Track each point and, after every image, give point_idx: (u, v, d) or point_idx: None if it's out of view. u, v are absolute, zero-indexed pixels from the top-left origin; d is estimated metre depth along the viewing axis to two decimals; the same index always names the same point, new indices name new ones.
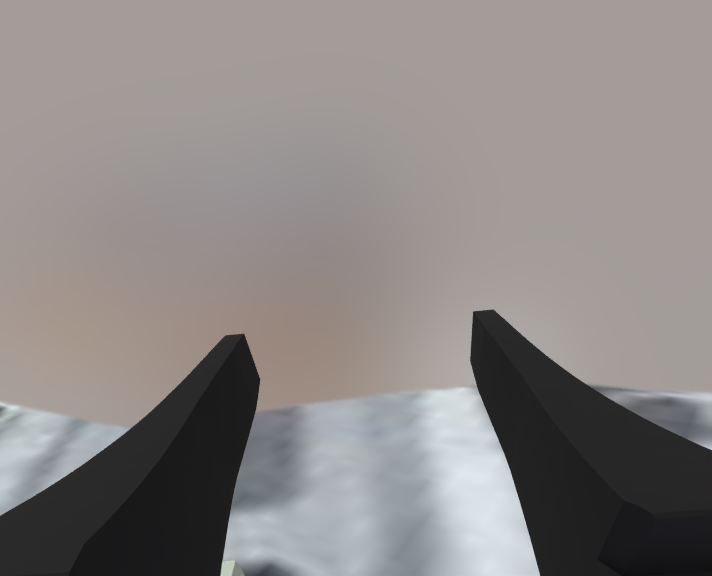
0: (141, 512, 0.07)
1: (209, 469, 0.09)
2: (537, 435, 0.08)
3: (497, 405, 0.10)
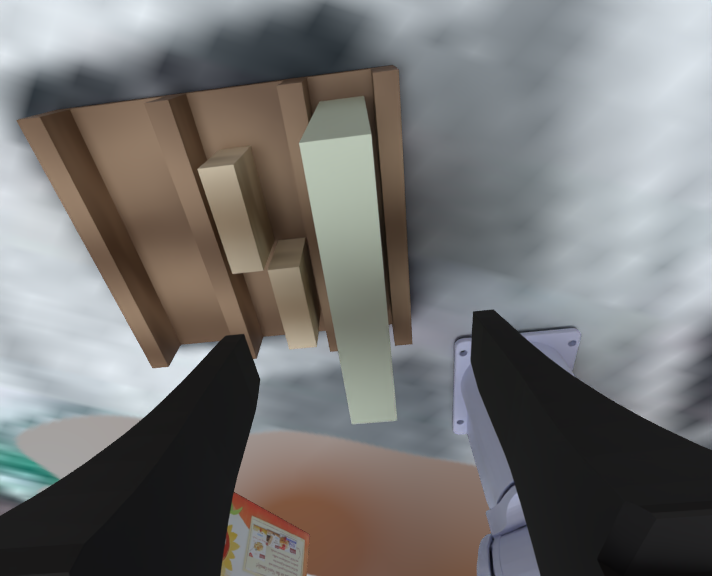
0: (141, 512, 0.07)
1: (209, 469, 0.09)
2: (537, 435, 0.08)
3: (497, 405, 0.10)
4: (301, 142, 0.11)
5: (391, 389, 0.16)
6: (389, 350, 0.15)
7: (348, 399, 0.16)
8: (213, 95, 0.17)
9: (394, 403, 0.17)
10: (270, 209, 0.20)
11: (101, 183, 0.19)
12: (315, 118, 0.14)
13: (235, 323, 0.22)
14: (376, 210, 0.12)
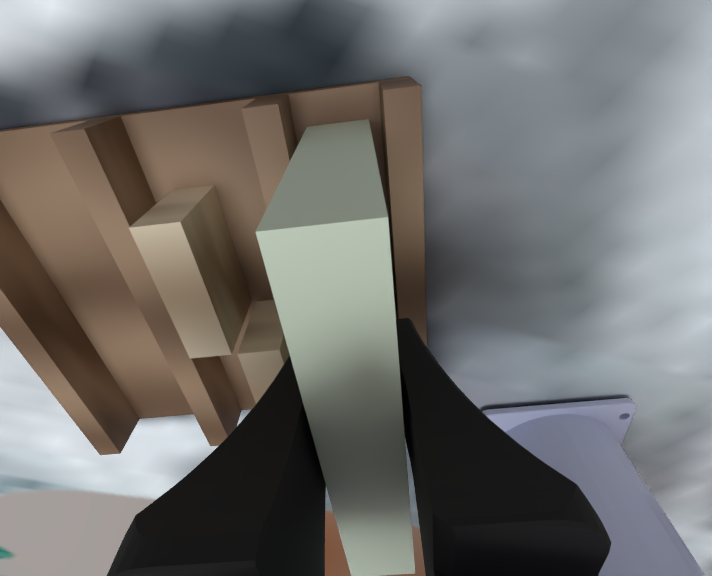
0: (285, 502, 0.07)
1: (313, 461, 0.09)
2: (414, 445, 0.08)
3: (403, 413, 0.11)
4: (260, 229, 0.06)
5: (408, 542, 0.11)
6: (407, 503, 0.10)
7: (347, 553, 0.12)
8: (158, 118, 0.12)
9: (412, 556, 0.12)
10: (244, 264, 0.15)
11: (15, 233, 0.14)
12: (295, 163, 0.09)
13: (201, 406, 0.17)
14: (393, 332, 0.07)
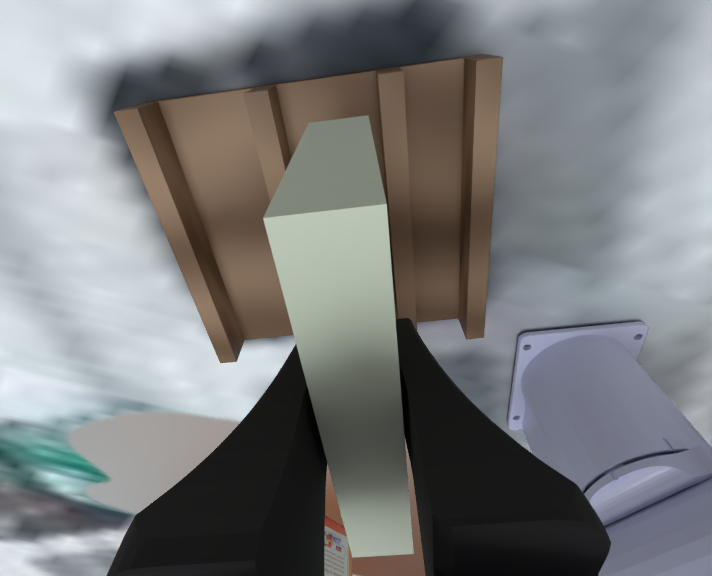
0: (284, 502, 0.07)
1: (313, 461, 0.09)
2: (414, 445, 0.08)
3: (403, 413, 0.11)
4: (267, 216, 0.06)
5: (406, 522, 0.12)
6: (405, 482, 0.10)
7: (347, 533, 0.12)
8: (302, 86, 0.17)
9: (410, 536, 0.12)
10: None
11: (183, 176, 0.19)
12: (298, 156, 0.09)
13: None
14: (392, 314, 0.07)
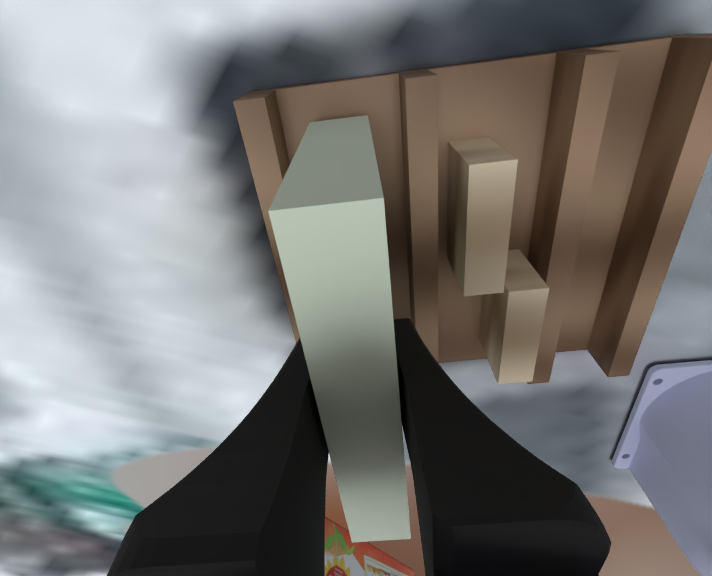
0: (285, 502, 0.07)
1: (313, 461, 0.09)
2: (414, 445, 0.08)
3: (403, 413, 0.11)
4: (272, 209, 0.07)
5: (403, 507, 0.12)
6: (402, 467, 0.11)
7: (347, 518, 0.12)
8: (460, 72, 0.14)
9: (407, 521, 0.13)
10: None
11: None
12: (300, 154, 0.10)
13: None
14: (389, 303, 0.08)
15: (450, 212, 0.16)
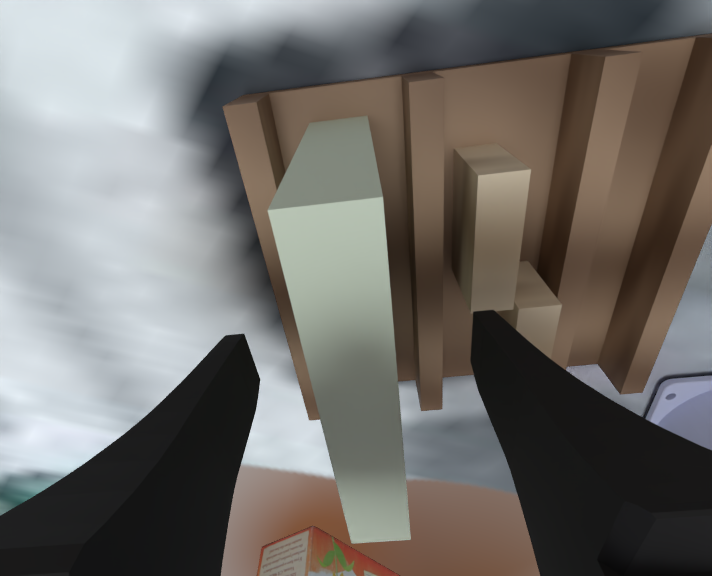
0: (141, 512, 0.07)
1: (209, 469, 0.09)
2: (537, 435, 0.08)
3: (497, 405, 0.10)
4: (271, 208, 0.07)
5: (403, 508, 0.12)
6: (402, 468, 0.11)
7: (347, 519, 0.12)
8: (467, 74, 0.13)
9: (407, 522, 0.13)
10: None
11: None
12: (300, 154, 0.10)
13: (430, 369, 0.17)
14: (388, 302, 0.08)
15: (456, 223, 0.15)
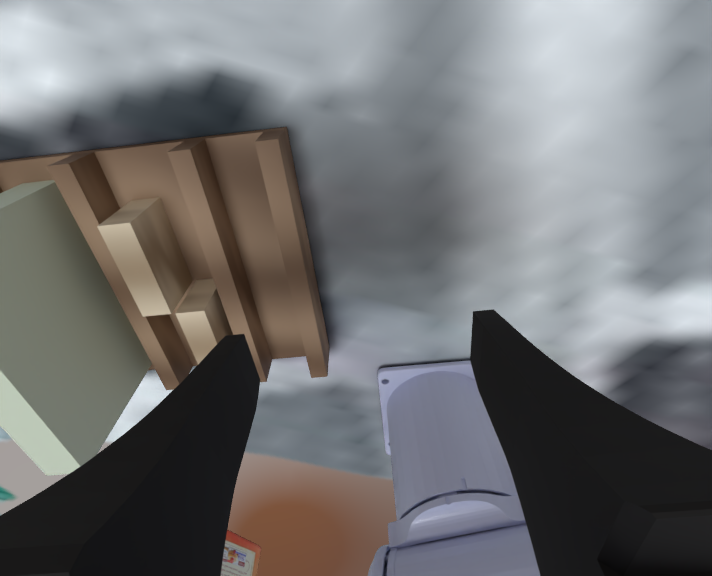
0: (141, 512, 0.07)
1: (209, 469, 0.09)
2: (537, 435, 0.08)
3: (498, 405, 0.10)
4: None
5: (61, 447, 0.18)
6: (37, 417, 0.17)
7: (29, 455, 0.18)
8: (119, 153, 0.19)
9: (73, 458, 0.18)
10: (185, 253, 0.22)
11: None
12: None
13: (157, 357, 0.23)
14: None
15: None
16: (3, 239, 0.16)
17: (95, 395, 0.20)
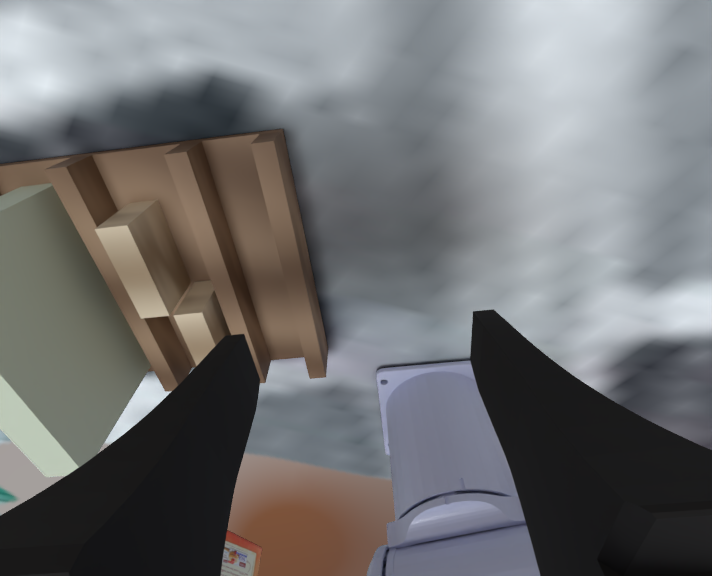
0: (141, 512, 0.07)
1: (209, 469, 0.09)
2: (537, 435, 0.08)
3: (498, 405, 0.10)
4: None
5: (60, 449, 0.18)
6: (36, 419, 0.17)
7: (28, 457, 0.18)
8: (116, 156, 0.19)
9: (72, 460, 0.19)
10: (183, 254, 0.22)
11: None
12: None
13: (156, 359, 0.23)
14: None
15: None
16: (2, 242, 0.16)
17: (94, 397, 0.20)
